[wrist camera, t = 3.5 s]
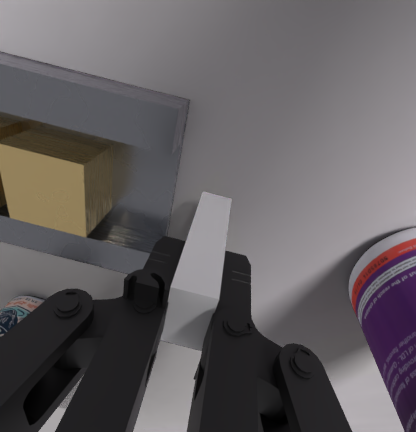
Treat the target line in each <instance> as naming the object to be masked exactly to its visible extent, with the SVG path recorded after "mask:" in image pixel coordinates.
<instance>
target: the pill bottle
mask: <svg viewBox="0 0 416 432" xmlns="http://www.w3.org/2000/svg"><path fill="white" fill-rule="evenodd" d="M349 297H350V301H351V304H352V306H353V309H354V311H355V314H356V316H357V318H358V321H359V323H360V325H361V328H362V330H363V333H364V335H365V337H366V340H367V342H368V345H369V347H370V350H371V352H372V354H373V357H374V359H375V361H376V364H377V366H378V369H379V371H380V373H381V376H382V378H383V381H384V383H385V385H386V388H387V390H388V392H389V395H390V397H391V400H392V402H393V404H394V407H395V409H396V411H397V414H398V416H399V419H400V421H401V424H402V426H403V428H404V431H405V432H416V227H414V228H411V229H407V230H404V231H401V232H398V233H396V234H393V235H391V236H389V237H387V238H385V239H383V240H381V241H380V242H378V243H376V244H375V245H373V246H372V247H371V248H370V249H368V250H367V251H366V252H365V253H364V254H363V256H362V257H361V258H360V259H359V260H358V262H357V263H356V265H355V266H354V268H353V270H352V273H351V276H350V279H349Z"/></svg>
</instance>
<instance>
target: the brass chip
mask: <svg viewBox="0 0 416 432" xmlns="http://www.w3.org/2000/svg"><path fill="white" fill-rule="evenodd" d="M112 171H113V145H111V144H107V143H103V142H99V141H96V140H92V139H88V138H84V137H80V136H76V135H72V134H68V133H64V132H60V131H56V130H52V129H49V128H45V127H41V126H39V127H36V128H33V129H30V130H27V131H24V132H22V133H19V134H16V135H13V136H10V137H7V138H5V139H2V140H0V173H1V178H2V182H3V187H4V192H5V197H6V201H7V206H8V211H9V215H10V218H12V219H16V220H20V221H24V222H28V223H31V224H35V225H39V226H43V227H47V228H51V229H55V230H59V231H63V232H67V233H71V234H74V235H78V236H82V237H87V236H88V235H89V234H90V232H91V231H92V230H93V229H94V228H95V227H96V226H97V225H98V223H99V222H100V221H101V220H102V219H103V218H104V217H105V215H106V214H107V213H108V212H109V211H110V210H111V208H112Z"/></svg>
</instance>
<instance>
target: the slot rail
mask: <svg viewBox="0 0 416 432" xmlns="http://www.w3.org/2000/svg"><path fill="white" fill-rule="evenodd" d="M189 102H190V100H188V99H184V98H180V97H176V96H172V95H168V94H164V93H160V92H157V91H153V90H149V89H145V88H141V87H137V86H133V85H129V84H125V83H121V82H117V81H113V80H110V79H106V78H102V77H98V76H94V75H90V74H86V73H82V72H78V71H74V70H70V69H67V68H63V67H59V66H55V65H51V64H47V63H43V62H39V61H35V60H31V59H27V58H23V57H20V56H16V55H12V54H8V53H4V52H0V116H2V117H6V118H9V119H13V120H17V121H21V124H22V131H23V132H24V131H27V130H30V129H33V128H36V127H39V126H41V127H45V128H49V129H52V130H56V131H60V132H64V133H68V134H72V135H76V136H80V137H84V138H88V139H92V140H96V141H99V142H103V143H107V144H111V145H113V171H112V208H111V210H110V211H109V212H108V213H107V214H106V215H105V217H104V218H103V219H102V220H101V221H100V222H99V223H98V225H97V226H96V227H95V228H94V229H93V230H92V231H91V232H90V234H89V235H88V236H87V237H82V236H78V235H74V234H71V233H67V232H63V231H59V230H55V229H51V228H47V227H43V226H39V225H35V224H31V223H28V222H24V221H20V220H16V219H12V218H10V215H9V211H8V206H7V204H5V205H3V206H2V207H0V241H2V242H6V243H9V244H13V245H17V246H21V247H25V248H29V249H33V250H37V251H41V252H45V253H49V254H52V255H56V256H60V257H64V258H68V259H72V260H76V261H80V262H84V263H88V264H92V265H95V266H99V267H103V268H107V269H111V270H115V271H119V272H123V273H127V274H130V273H132V272H134V271H136V270H140V269H143V267H144V265H145V263H146V261H147V259H148V257H149V255H150V253H151V252H152V249H153V247H154V245H155V243H156V242H157V241H158V240H160V239H161V238H162V237H164V236H166V237H167V234H168V228H169V222H170V216H171V210H172V204H173V198H174V192H175V186H176V180H177V174H178V168H179V162H180V156H181V150H182V144H183V138H184V132H185V126H186V120H187V114H188V108H189Z"/></svg>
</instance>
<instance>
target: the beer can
mask: <svg viewBox="0 0 416 432" xmlns="http://www.w3.org/2000/svg"><path fill="white" fill-rule="evenodd" d="M44 301H45V300H44V299H41V298H37V297H31V296H18V297H15V298H13V299H12V300H11V301H10V302H9V303H8V304H7V305H6V306H5V307H4V308H3V309H2V310H1V311H0V337H1V336H3V335H4V334H5V333H6V332H7V331H9V330H10V329H11V328H12V327H14V326H15V325H16V324H17V323H18V322H20V321H21V320H22V319H23V318H25V317H26V316H27V315H28V314H29V313H31V312H32V311H33V310H34V309H36V308H37V307H38V306H39V305H40V304H42V303H43V302H44Z"/></svg>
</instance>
